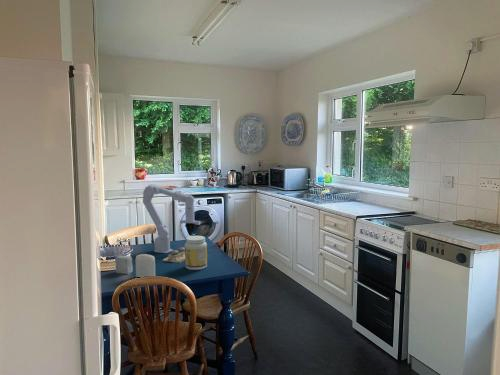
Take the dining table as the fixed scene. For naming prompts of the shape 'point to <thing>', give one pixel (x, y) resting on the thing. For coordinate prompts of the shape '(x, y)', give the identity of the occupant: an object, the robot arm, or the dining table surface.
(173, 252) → the plug
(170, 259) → the board
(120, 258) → the medicine box
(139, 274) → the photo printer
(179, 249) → the grey ball
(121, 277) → the dining table surface
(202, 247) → the supplement tub
